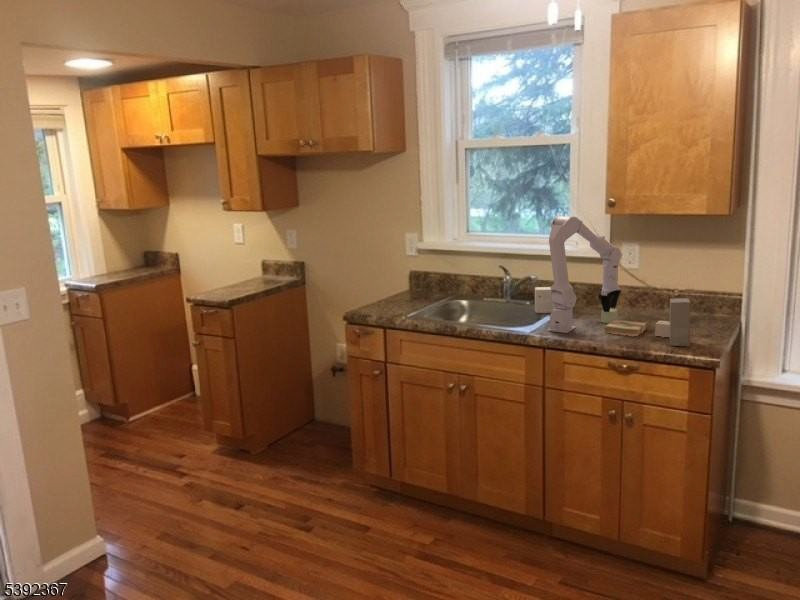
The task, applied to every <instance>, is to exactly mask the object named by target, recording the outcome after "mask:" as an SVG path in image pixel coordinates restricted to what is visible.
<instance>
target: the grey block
mask: <svg viewBox="0 0 800 600" xmlns="http://www.w3.org/2000/svg"><path fill="white" fill-rule="evenodd" d="M654 326H655V331H654V337H656V336H661V337H660V338H664V337H670V322H669V321H667V320H658V321H657V322H655V325H654Z"/></svg>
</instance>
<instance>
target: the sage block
mask: <svg viewBox="0 0 800 600" xmlns="http://www.w3.org/2000/svg"><path fill="white" fill-rule="evenodd" d="M618 311H619V310H618V309H617V308H610V311H609V312H604V311H603V309H601V311H600V323H601V322H603V324H609V323H611V322H612V321H614V320H618V315H619V314H618Z"/></svg>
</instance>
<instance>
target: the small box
mask: <svg viewBox="0 0 800 600" xmlns="http://www.w3.org/2000/svg"><path fill="white" fill-rule="evenodd" d="M550 293H551V286H537V287H534V311H535V313H536V314H548V313H549V314H551V313H552V312H553V303H552V302H551V301H550Z"/></svg>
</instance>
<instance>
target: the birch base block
mask: <svg viewBox="0 0 800 600" xmlns="http://www.w3.org/2000/svg"><path fill="white" fill-rule="evenodd" d="M644 330H645V331H646V330H647V322H640V321H631V320H624V319H617V320H614V321H612V322H611V323H607V324H606V325H605V326H604V334H609V333H611V335H618V334H619V336H626V335H628V337H634V336H637V337H639V336H640V335H642V334H643V331H644ZM645 331H644V332H645ZM639 334H640V335H639ZM638 335H639V336H638Z"/></svg>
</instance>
